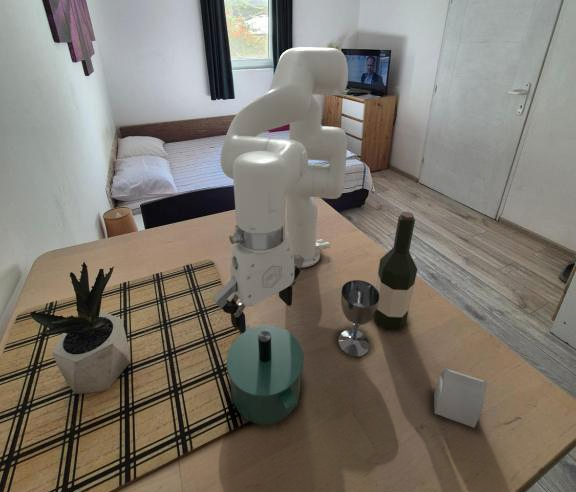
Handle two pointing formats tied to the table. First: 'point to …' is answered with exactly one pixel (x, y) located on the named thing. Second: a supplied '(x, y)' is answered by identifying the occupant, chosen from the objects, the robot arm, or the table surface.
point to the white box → (459, 397)
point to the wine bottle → (396, 277)
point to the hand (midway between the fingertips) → (263, 313)
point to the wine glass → (357, 315)
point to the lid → (265, 361)
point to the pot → (266, 403)
